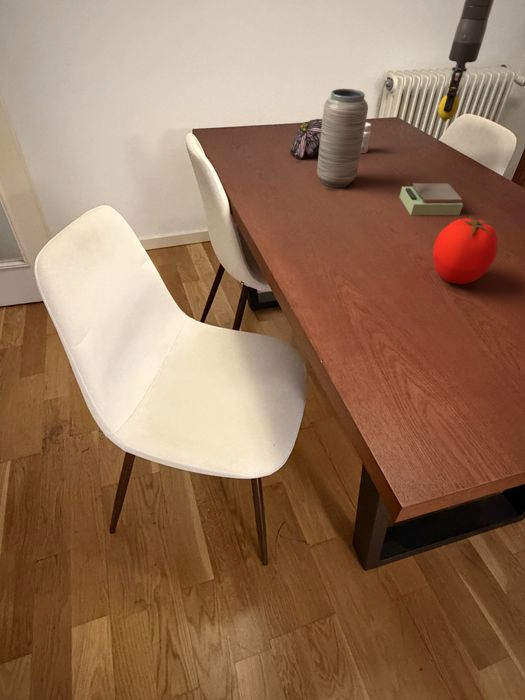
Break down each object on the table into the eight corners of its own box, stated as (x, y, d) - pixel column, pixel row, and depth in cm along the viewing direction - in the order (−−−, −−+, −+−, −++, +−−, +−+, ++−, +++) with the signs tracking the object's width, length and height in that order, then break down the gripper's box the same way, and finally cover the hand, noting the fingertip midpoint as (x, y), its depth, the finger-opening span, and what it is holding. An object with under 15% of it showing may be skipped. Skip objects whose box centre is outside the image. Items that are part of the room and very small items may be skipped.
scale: (444, 197, 113) (448, 184, 111) (459, 215, 106) (464, 202, 103) (399, 197, 113) (402, 184, 110) (410, 215, 105) (414, 202, 103)
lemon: (435, 123, 123) (443, 93, 117) (434, 118, 127) (442, 89, 121) (454, 124, 122) (463, 94, 116) (452, 119, 126) (461, 90, 120)
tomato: (491, 278, 85) (520, 220, 76) (464, 302, 79) (492, 243, 70) (441, 256, 91) (462, 200, 82) (412, 278, 85) (432, 219, 76)
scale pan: (447, 186, 111) (448, 183, 110) (461, 202, 104) (462, 199, 103) (411, 186, 110) (412, 183, 110) (423, 202, 103) (424, 199, 103)
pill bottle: (359, 147, 141) (364, 121, 135) (370, 151, 138) (375, 124, 133) (350, 150, 139) (354, 123, 133) (361, 154, 136) (366, 127, 130)
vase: (312, 186, 117) (321, 96, 101) (320, 171, 125) (329, 85, 109) (351, 192, 115) (367, 100, 98) (357, 176, 123) (373, 89, 106)
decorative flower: (287, 115, 134) (331, 103, 129) (296, 146, 144) (337, 136, 138) (282, 141, 127) (329, 130, 122) (292, 172, 137) (336, 163, 131)
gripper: (481, 44, 104) (459, 116, 116) (483, 36, 114) (462, 104, 126) (451, 42, 107) (432, 113, 118) (455, 35, 116) (437, 102, 128)
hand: (448, 108), depth 122 cm, fingers closed on lemon, 5 cm apart
